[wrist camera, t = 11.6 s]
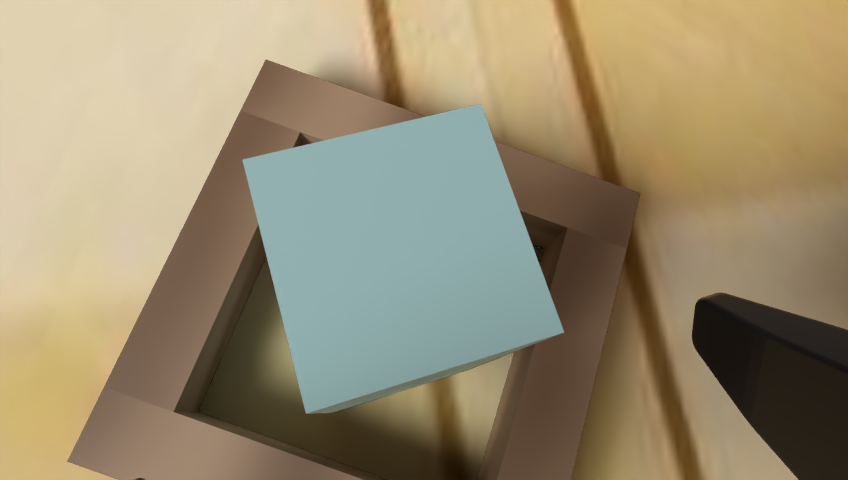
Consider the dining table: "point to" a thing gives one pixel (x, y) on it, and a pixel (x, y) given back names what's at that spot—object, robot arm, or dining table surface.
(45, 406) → the dining table surface
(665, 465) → the dining table surface
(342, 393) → the peg
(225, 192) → the socket collar
